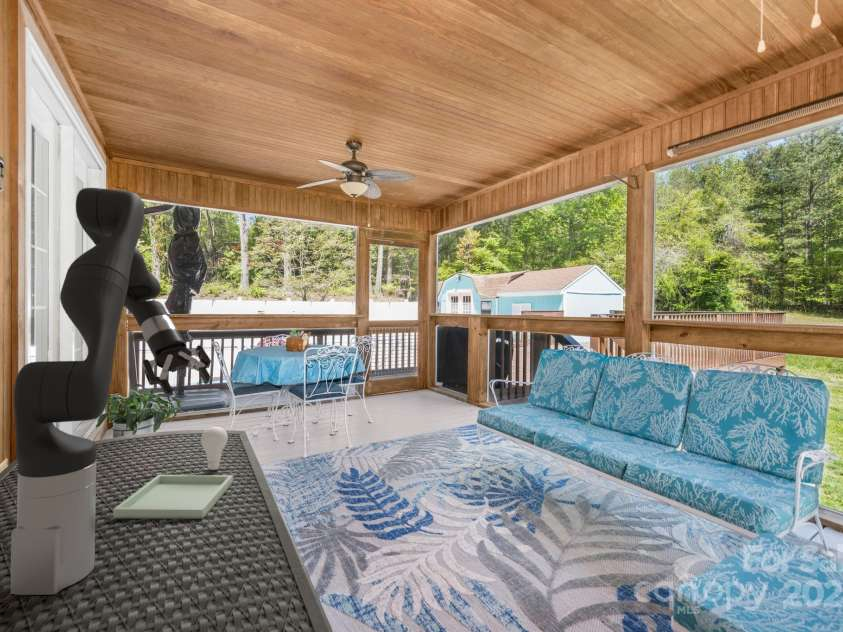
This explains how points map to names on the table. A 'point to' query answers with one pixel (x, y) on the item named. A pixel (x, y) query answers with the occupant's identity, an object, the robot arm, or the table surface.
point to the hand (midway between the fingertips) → (189, 388)
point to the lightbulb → (214, 445)
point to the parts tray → (175, 497)
